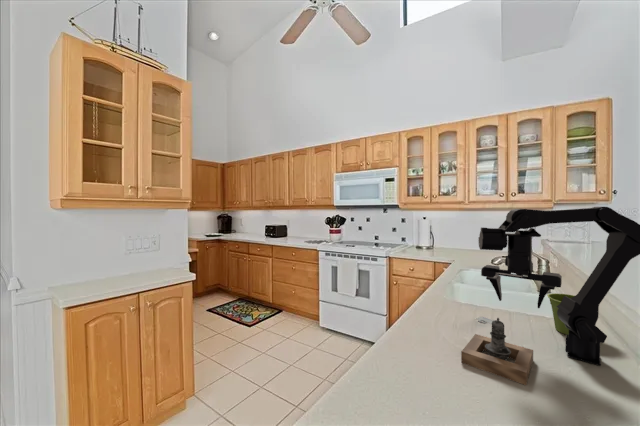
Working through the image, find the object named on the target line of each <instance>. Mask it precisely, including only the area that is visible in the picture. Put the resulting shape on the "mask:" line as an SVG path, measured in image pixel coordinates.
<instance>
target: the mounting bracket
mask: <svg viewBox="0 0 640 426" xmlns="http://www.w3.org/2000/svg"><path fill="white" fill-rule="evenodd" d="M474 320H476V321H478V322H479V323H480V324H490V325H492V322H493V321H495V320H494V319H492V318H488V317H485V316H479V317H477V318H476V317H475V318H474Z"/></svg>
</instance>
